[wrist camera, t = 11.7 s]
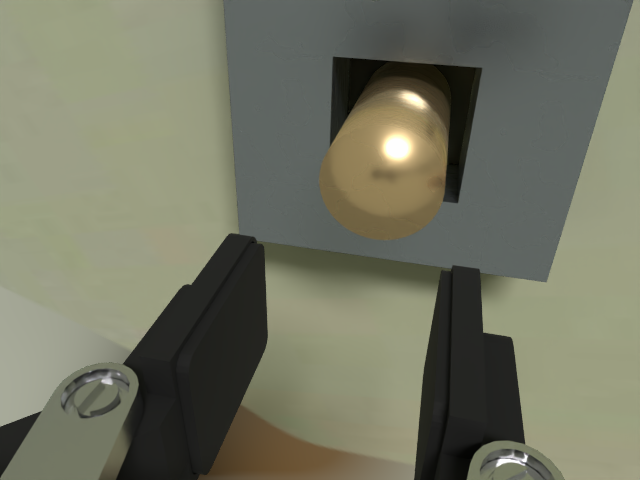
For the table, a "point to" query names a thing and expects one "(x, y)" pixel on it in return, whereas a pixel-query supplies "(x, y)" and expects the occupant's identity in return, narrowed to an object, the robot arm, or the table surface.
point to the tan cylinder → (390, 154)
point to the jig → (480, 131)
